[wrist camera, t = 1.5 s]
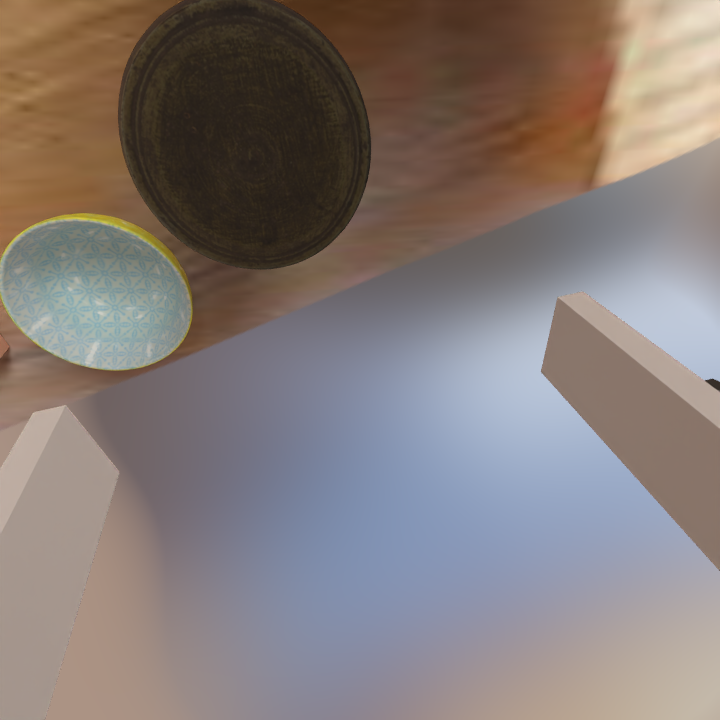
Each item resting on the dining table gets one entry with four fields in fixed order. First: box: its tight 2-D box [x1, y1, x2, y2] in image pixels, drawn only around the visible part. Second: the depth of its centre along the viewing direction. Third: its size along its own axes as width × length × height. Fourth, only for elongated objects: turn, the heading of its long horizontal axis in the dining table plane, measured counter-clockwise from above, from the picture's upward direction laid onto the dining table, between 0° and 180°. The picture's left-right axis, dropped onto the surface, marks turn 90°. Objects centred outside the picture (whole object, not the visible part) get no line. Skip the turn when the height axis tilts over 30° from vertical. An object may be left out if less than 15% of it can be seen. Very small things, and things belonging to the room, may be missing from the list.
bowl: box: [0, 213, 193, 371], centre depth 30 cm, size 11×12×6 cm
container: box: [118, 0, 371, 269], centre depth 21 cm, size 9×9×18 cm
